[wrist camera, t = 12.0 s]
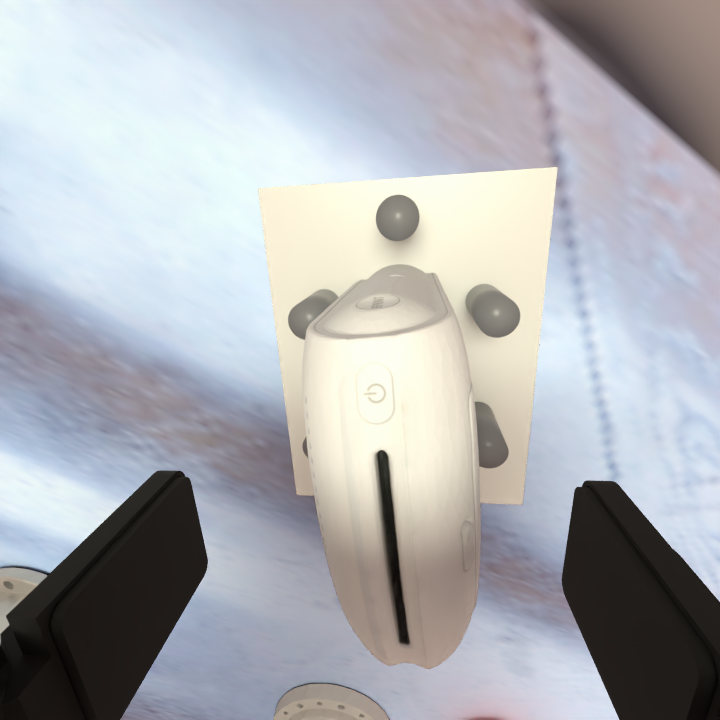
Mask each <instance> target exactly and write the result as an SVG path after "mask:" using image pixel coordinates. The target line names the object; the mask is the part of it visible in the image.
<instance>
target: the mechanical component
mask: <svg viewBox="0 0 720 720" xmlns="http://www.w3.org/2000/svg"><path fill="white" fill-rule="evenodd" d="M273 720H389V718H388V717H387V715H386V713H385V712H384V711H383V710H382V708H381V707H380V706H379V705H378V704H377V703H375V702H374V701H372V700H371V699H370V698H368V697H366V696H364V695H362V694H360V693H358V692H356V691H354V690H352V689H348V688H345V687H342V686H338V685H331V684H307V685H304V686H300V687H297V688H294V689H292V690H290V691H289V692H287V693H286V694H284V696H283V697H282V698H281V699H280V701H279V702H278V705H277V709H276V712H275V715H274V719H273Z"/></svg>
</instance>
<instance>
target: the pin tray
mask: <svg viewBox="0 0 720 720" xmlns="http://www.w3.org/2000/svg"><path fill="white" fill-rule="evenodd" d="M556 176H557V167H552V168H538V169H524V170H510V171H496V172H482V173H468V174H454V175H440V176H426V177H412V178H398V179H384V180H370V181H356V182H342V183H328V184H314V185H300V186H286V187H272V188H258V192H259V200H260V208H261V215H262V223H263V231H264V239H265V247H266V255H267V263H268V271H269V279H270V287H271V295H272V303H273V311H274V319H275V327H276V335H277V343H278V351H279V359H280V367H281V374H282V382H283V390H284V398H285V406H286V414H287V422H288V430H289V438H290V446H291V454H292V462H293V470H294V478H295V486H296V494H297V495H308V496H314V493H313V486H312V479H311V472H310V465H309V458H308V450H307V439H306V430H305V419H304V406H303V384H302V369H303V354H304V345H305V337H306V330H307V328H308V326H309V324H310V323H311V322H312V321H313V320H315V319H316V318H317V317H318V316H319V315H320V314H321V313H322V312H323V311H324V310H325V309H326V308H327V307H329V306H330V305H331V304H332V303H333V302H334V301H335V300H337V299H338V298H339V297H340V296H341V295H342V294H343V293H344V292H345V291H347V290H348V289H349V288H350V287H351V286H352V285H353V284H355V283H356V282H357V281H359V280H367V279H368V278H370V277H371V276H372V275H373V274H374V273H375V272H377V271H378V270H380V269H382V268H384V267H387V266H390V265H396V264H404V265H410V266H413V267H416V268H418V269H420V270H422V271H423V272H425V273H436V275H437V276H438V279H439V281H440V283H441V285H442V287H443V290H444V292H445V294H446V295H447V298H448V299H449V301H450V304H451V305H452V307H453V309H454V312H455V314H456V316H457V319H458V322H459V325H460V328H461V332H462V336H463V340H464V344H465V348H466V353H467V357H468V363H469V369H470V378H471V381H472V386H473V393H474V402H475V410H476V421H477V436H478V450H479V473H480V502H481V503H490V504H513V505H522V504H523V494H524V485H525V475H526V465H527V456H528V446H529V436H530V427H531V417H532V408H533V398H534V388H535V379H536V369H537V359H538V350H539V340H540V330H541V321H542V311H543V301H544V292H545V282H546V273H547V263H548V253H549V244H550V234H551V224H552V215H553V205H554V195H555V186H556Z"/></svg>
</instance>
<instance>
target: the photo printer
mask: <svg viewBox="0 0 720 720" xmlns="http://www.w3.org/2000/svg"><path fill="white" fill-rule="evenodd" d="M302 384H303V406H304V419H305V430H306V439H307V450H308V458H309V465H310V472H311V479H312V486H313V493H314V498H315V503H316V510H317V515H318V521H319V526H320V531H321V536H322V540H323V545H324V550H325V554H326V558H327V562H328V565H329V569H330V573H331V577H332V581H333V584H334V587H335V590H336V593H337V596H338V599H339V601H340V604H341V607H342V609H343V612H344V614H345V616H346V618H347V620H348V622H349V624H350V625H351V627H352V629H353V630H354V632H355V633H356V635H357V636H358V638H359V639H360V640H361V642H362V643H363V644H364V646H365V647H366V648H367V649H368V650H369V651H370V652H371V654H372V655H374V656H375V657H376V658H377V659H378V660H380V661H381V662H382V663H384V664H386V665H388V666H390V665H395V664H399V663H404V662H405V663H413V664H416V665H419V666H421V667H424V668H426V669H430V668H433V667H435V666H438V665H439V664H441V663H442V662H443V661H445V660H446V659H447V658H448V657H449V656H450V655H451V654H452V653H453V652H454V651H455V650H456V648H457V647H458V645H459V644H460V642H461V640H462V638H463V636H464V634H465V632H466V629H467V627H468V625H469V622H470V619H471V616H472V613H473V610H474V608H475V606H476V601H477V594H478V583H479V567H480V540H481V510H480V508H481V502H480V473H479V450H478V436H477V421H476V410H475V402H474V393H473V386H472V381H471V378H470V369H469V363H468V357H467V353H466V348H465V344H464V340H463V336H462V332H461V328H460V325H459V322H458V319H457V316H456V314H455V312H454V309H453V307H452V305H451V304H450V301H449V299H448V298H447V295H446V294H445V292H444V290H443V287H442V285H441V283H440V281H439V279H438V276H437V275H436V273H425V272H423V271H422V270H420V269H418V268H416V267H413V266H410V265H404V264H396V265H390V266H387V267H384V268H382V269H380V270H378V271H377V272H375V273H374V274H373V275H372V276H371V277H370V278H368V279H367V280H359V281H357V282H356V283H355V284H353V285H352V286H351V287H350V288H349V289H348V290H347V291H345V292H344V293H343V294H342V295H341V296H340V297H339V298H338V299H337V300H335V301H334V302H333V303H332V304H331V305H330V306H329V307H327V308H326V309H325V310H324V311H323V312H322V313H321V314H320V315H319V316H318V317H317V318H316V319H315V320H313V321H312V322H311V323H310V324H309V326H308V328H307V330H306V337H305V345H304V354H303V369H302Z"/></svg>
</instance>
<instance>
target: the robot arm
mask: <svg viewBox="0 0 720 720" xmlns="http://www.w3.org/2000/svg"><path fill="white" fill-rule="evenodd" d="M207 565H208V559H207V554H206V549H205V545H204V540H203V536H202V531H201V526H200V522H199V517H198V513H197V508H196V503H195V499H194V494H193V490H192V485H191V481H190V479H189V478H188V477H185V475H184V473H183V472H181V471H157V472H155V473H154V474H153V475H152V476H151V477H150V478H149V479H148V480H147V481H146V482H145V483H144V484H143V485H142V486H140V487H139V488H138V489H137V490H136V491H135V492H134V493H133V494H132V495H131V496H130V497H129V498H128V499H127V500H126V501H125V502H124V503H123V504H122V505H121V506H120V507H119V508H118V509H117V510H115V511H114V512H113V513H112V514H111V515H110V516H109V517H108V518H107V519H106V520H105V521H104V522H103V523H102V524H101V525H100V526H99V527H98V528H97V529H96V530H95V531H94V532H93V533H92V534H91V535H89V536H88V537H87V538H86V539H85V540H84V541H83V542H82V543H81V544H80V545H79V546H78V547H77V548H76V549H75V550H74V551H73V552H72V553H71V554H70V555H69V556H68V557H67V558H66V559H64V560H63V561H62V562H61V563H60V564H59V565H58V566H57V567H56V568H55V569H54V570H53V571H52V572H51V573H50V574H49V575H46V574H43V573H40V572H37V571H33V570H29V569H22V568H0V720H120V719H121V717H122V716H123V714H124V712H125V710H126V709H127V707H128V705H129V704H130V702H131V700H132V698H133V697H134V695H135V693H136V692H137V690H138V688H139V686H140V685H141V683H142V681H143V680H144V678H145V676H146V674H147V673H148V671H149V669H150V668H151V666H152V664H153V662H154V661H155V659H156V657H157V656H158V654H159V652H160V650H161V649H162V647H163V645H164V644H165V642H166V640H167V639H168V637H169V635H170V633H171V632H172V630H173V628H174V627H175V625H176V623H177V621H178V620H179V618H180V616H181V615H182V613H183V611H184V609H185V608H186V606H187V604H188V603H189V601H190V599H191V597H192V596H193V594H194V592H195V591H196V589H197V587H198V585H199V584H200V582H201V580H202V579H203V577H204V575H205V573H206V570H207ZM562 586H563V591H564V594H565V597H566V599H567V602H568V604H569V606H570V608H571V611H572V613H573V615H574V617H575V620H576V622H577V624H578V627H579V629H580V631H581V633H582V636H583V638H584V640H585V642H586V645H587V647H588V649H589V652H590V654H591V656H592V658H593V661H594V663H595V665H596V667H597V670H598V672H599V674H600V676H601V679H602V681H603V683H604V686H605V688H606V690H607V692H608V695H609V697H610V699H611V701H612V704H613V706H614V708H615V711H616V713H617V715H618V717H619V720H720V602H719V601H718V600H717V598H716V597H715V596H714V595H713V594H712V593H711V591H710V590H709V589H708V588H707V587H706V585H705V584H704V583H703V582H702V581H701V580H700V578H699V577H698V576H697V575H696V574H695V573H694V571H693V570H692V569H691V568H690V567H689V565H688V564H687V563H686V562H685V561H684V560H683V558H682V557H681V556H680V555H679V554H678V553H677V552H676V551H675V550H673V549H672V548H671V546H670V545H669V544H668V543H667V542H666V541H665V539H664V538H663V537H662V536H661V535H660V533H659V532H658V531H657V530H656V529H655V528H654V526H653V525H652V524H651V523H650V522H649V520H648V519H647V518H646V517H645V516H644V515H643V513H642V512H641V511H640V510H639V509H638V507H637V506H636V505H635V504H634V503H633V502H632V500H631V499H630V498H629V497H628V496H627V494H626V493H625V492H624V491H623V490H622V489H621V487H620V486H619V485H618V484H617V483H616V482H613V481H585V482H584V483H583V486H582V487H577V488H576V489H575V492H574V499H573V506H572V512H571V519H570V526H569V533H568V540H567V547H566V554H565V560H564V567H563V574H562Z"/></svg>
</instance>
